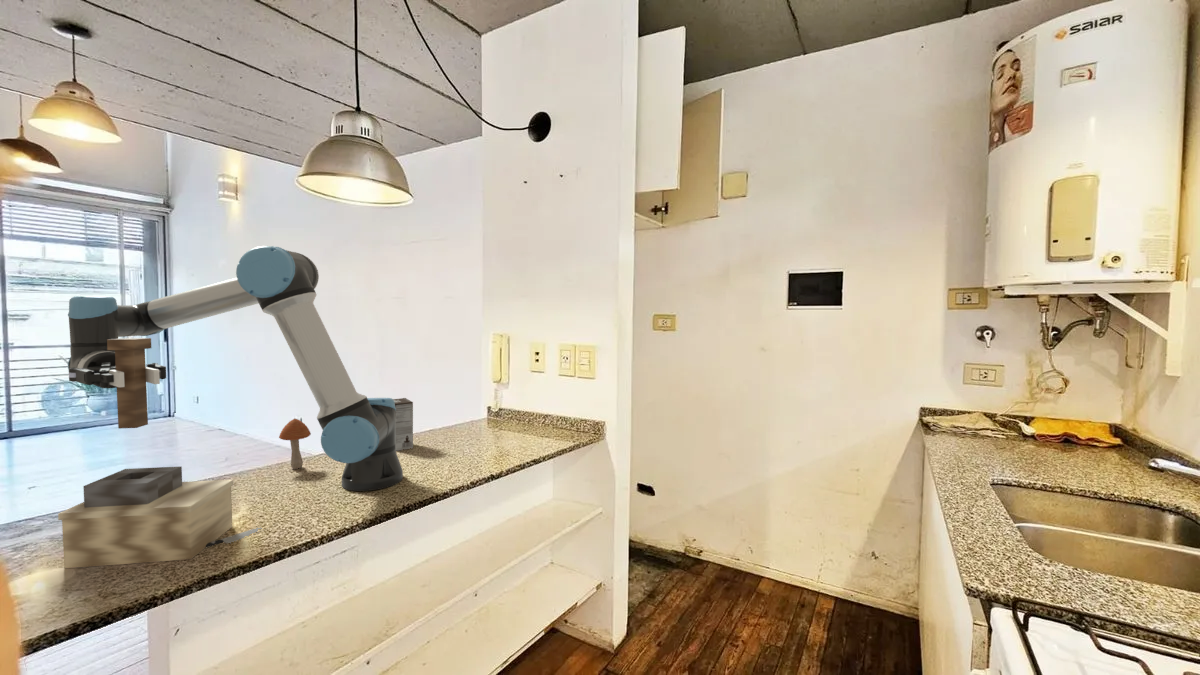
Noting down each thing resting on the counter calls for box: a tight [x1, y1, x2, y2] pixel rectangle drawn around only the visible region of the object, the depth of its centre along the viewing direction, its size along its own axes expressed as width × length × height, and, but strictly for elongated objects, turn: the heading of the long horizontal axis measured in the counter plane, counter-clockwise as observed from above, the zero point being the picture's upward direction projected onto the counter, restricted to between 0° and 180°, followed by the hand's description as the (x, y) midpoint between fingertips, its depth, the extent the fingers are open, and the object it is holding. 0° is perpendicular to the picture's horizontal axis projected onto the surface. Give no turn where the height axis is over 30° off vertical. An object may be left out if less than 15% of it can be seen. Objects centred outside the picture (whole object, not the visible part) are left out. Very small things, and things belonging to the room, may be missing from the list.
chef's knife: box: [206, 527, 262, 548], centre depth 101 cm, size 19×1×3 cm
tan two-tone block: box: [57, 466, 234, 569], centre depth 96 cm, size 21×15×14 cm
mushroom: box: [278, 418, 312, 470], centre depth 144 cm, size 8×8×15 cm
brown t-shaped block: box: [107, 337, 152, 430], centre depth 94 cm, size 4×4×17 cm
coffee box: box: [392, 397, 414, 452], centre depth 168 cm, size 9×6×16 cm
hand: (139, 378), depth 91 cm, fingers closed on brown t-shaped block, 4 cm apart
